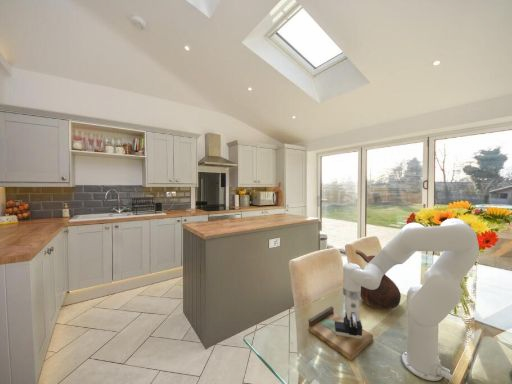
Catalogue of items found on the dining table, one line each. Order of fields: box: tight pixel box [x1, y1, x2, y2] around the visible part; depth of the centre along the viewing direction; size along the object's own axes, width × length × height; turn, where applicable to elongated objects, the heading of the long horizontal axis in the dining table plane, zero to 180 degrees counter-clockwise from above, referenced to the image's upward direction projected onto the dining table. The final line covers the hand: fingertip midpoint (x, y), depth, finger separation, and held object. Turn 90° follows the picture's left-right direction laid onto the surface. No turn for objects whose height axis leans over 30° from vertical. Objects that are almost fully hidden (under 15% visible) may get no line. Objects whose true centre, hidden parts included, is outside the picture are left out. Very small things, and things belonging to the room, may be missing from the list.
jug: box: [355, 249, 402, 311], centre depth 124 cm, size 22×22×30 cm
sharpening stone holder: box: [308, 306, 374, 361], centre depth 101 cm, size 22×18×6 cm
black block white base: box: [335, 316, 363, 339], centre depth 98 cm, size 11×5×6 cm, turn 76°
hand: (350, 327), depth 98 cm, fingers open, 9 cm apart
